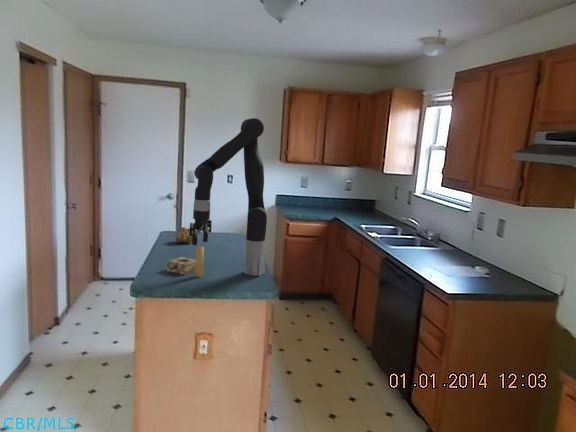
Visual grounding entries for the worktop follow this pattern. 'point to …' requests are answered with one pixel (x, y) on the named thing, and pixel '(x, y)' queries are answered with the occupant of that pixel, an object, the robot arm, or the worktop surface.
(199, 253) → the peg
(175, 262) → the socket mount
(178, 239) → the rock
